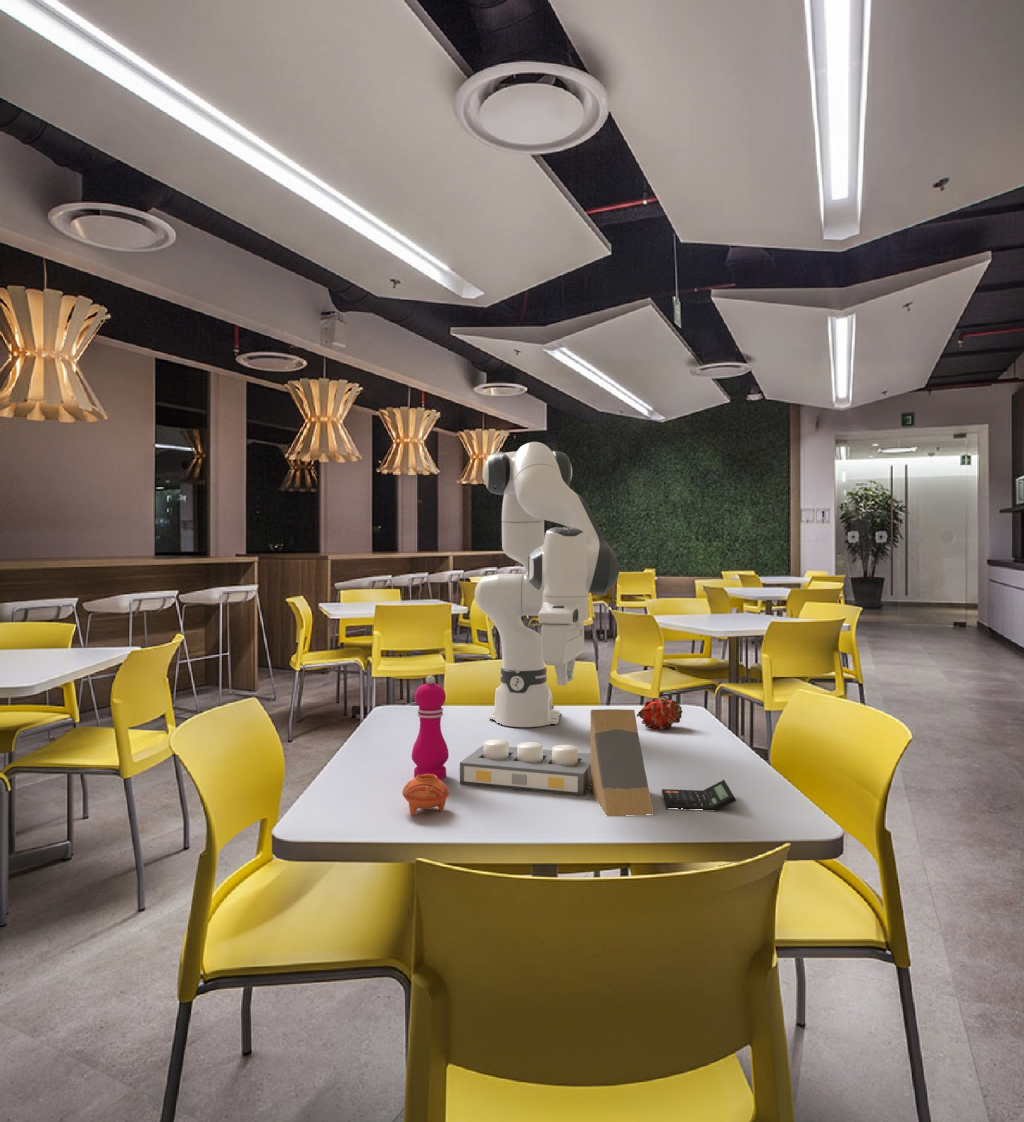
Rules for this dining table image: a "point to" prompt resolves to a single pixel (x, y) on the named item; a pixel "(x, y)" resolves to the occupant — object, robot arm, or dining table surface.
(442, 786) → the pot
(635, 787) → the sandwich container
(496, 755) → the ball
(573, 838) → the dining table surface
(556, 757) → the button container side
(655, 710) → the dragon fruit
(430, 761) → the pepper mill
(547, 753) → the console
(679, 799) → the calculator
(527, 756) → the button middle
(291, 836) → the dining table surface
